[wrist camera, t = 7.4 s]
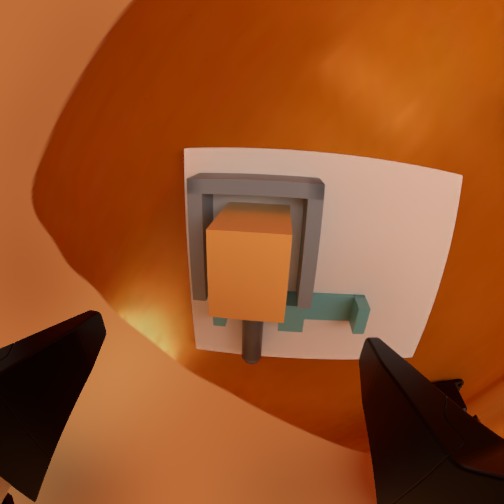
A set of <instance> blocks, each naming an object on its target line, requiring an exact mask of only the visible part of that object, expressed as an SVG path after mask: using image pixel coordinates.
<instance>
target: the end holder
mask: <svg viewBox="0 0 504 504" xmlns="http://www.w3.org/2000/svg"><path fill="white" fill-rule="evenodd" d="M324 192H325V184H324V183H323V182H322V180H321V179H320V178H315V177H302V176H287V175H270V174H245V173H198V174H196V175H194V176H191V177H189V178H187V205H188V230H189V249H190V265H191V279H192V292H193V300H200V301H206V300H207V298H208V279H207V249H206V229H207V228H208V227H209V225H210V224H211V223H212V222H213V194H227V195H253V196H272V197H289V198H304V205H303V218H302V230H301V242H300V253H299V263H298V273H297V283H296V297H297V308H301V309H311V304H312V297H313V290H314V283H315V275H316V268H317V260H318V251H319V243H320V234H321V224H322V214H323V203H324Z"/></svg>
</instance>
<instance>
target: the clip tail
mask: <svg viewBox="0 0 504 504" xmlns="http://www.w3.org/2000/svg"><path fill="white" fill-rule="evenodd" d="M292 311H293V291H287V298H286V308H285V317H284V323H278V331H287V332H290V327H291V319H292ZM227 319H228V318H219V317H213V325H215V326H226V323H227Z"/></svg>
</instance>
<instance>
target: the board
mask: <svg viewBox="0 0 504 504" xmlns="http://www.w3.org/2000/svg"><path fill="white" fill-rule="evenodd" d="M198 173H245V174H270V175H287V176H302V177H315V178H320V179H321V180H322V182H323V183H324V184H325V192H324V203H323V214H322V224H321V234H320V243H319V251H318V260H317V268H316V275H315V283H314V290H313V292H314V293H334V294H357V295H365V297H366V300H367V302H368V304H369V306H370V309H371V310H370V313H369V317H368V321H367V324H366V328H365V331H364V334H352V330H351V327H350V323H349V321H334V320H309V319H304V324H303V331H302V332H287V331H278V323H275V322H264V323H263V337H262V352H261V356H269V357H285V358H305V359H359V357H360V354H361V351H362V348H363V345H364V341H365V339H366V338H368V337H378V338H380V339H381V340H382V341H383V342H385V343H386V344H387V345H388V346H389V347H390V348H392V349H393V350H394V351H395V352H396V353H398V354H399V355H400V356H401V357H402V358H408V357H413V354H414V352H415V350H416V347H417V345H418V343H419V340H420V338H421V335H422V333H423V330H424V328H425V325H426V323H427V320H428V317H429V314H430V312H431V309H432V306H433V303H434V300H435V297H436V294H437V291H438V288H439V284H440V281H441V278H442V274H443V271H444V267H445V264H446V260H447V256H448V252H449V248H450V244H451V240H452V235H453V231H454V226H455V221H456V216H457V210H458V205H459V199H460V192H461V185H462V177H463V175H459V174H456V173H452V172H448V171H443V170H439V169H434V168H429V167H424V166H419V165H413V164H408V163H402V162H396V161H390V160H384V159H377V158H370V157H363V156H355V155H346V154H337V153H328V152H317V151H305V150H290V149H272V148H240V147H202V148H184V184H185V215H186V236H187V253H188V268H189V281H190V293H191V305H192V315H193V325H194V334H195V343H196V349H201V350H209V351H217V352H226V353H235V354H242V320H239V319H229V318H228V319H227V323H226V326H215V325H213V317H210V316H209V301H208V298H207V300H206V301H200V300H193V292H192V279H191V265H190V249H189V230H188V205H187V178H189V177H191V176H194V175H196V174H198ZM228 202H249V203H266V204H282V205H290V212H291V224H292V246H291V257H290V268H289V279H288V289H287V291H296V283H297V273H298V263H299V253H300V242H301V230H302V218H303V205H304V198H289V197H272V196H253V195H227V194H213V220H214V219H215V218H216V217H217V216H218V214H219V213H220V212H221V211H222V210H223V208H224V207H225V206H226V205H227V204H228Z"/></svg>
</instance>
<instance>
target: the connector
mask: <svg viewBox="0 0 504 504" xmlns="http://www.w3.org/2000/svg"><path fill="white" fill-rule="evenodd" d="M291 246H292V224H291V212H290V205H282V204H266V203H249V202H228V204H227V205H226V206H225V207H224V208H223V210H222V211H221V212H220V213H219V214H218V216H217V217H216V218H215V219H214V220H213V222H212V223H211V224H210V225H209V227H208V228H207V229H206V249H207V279H208V301H209V316H210V317H219V318H229V319H239V320H242V358H243V360H244V361H245V362H246V363H248V364H255V363H257V362H258V361H259V360H260V358H261V352H262V337H263V323H264V322H275V323H284V317H285V308H286V298H287V289H288V279H289V268H290V257H291Z"/></svg>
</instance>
